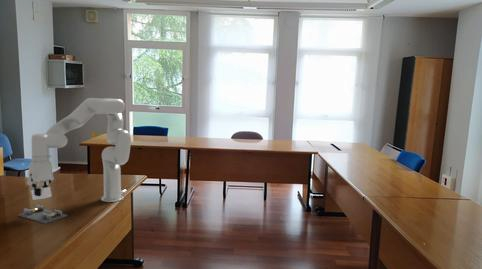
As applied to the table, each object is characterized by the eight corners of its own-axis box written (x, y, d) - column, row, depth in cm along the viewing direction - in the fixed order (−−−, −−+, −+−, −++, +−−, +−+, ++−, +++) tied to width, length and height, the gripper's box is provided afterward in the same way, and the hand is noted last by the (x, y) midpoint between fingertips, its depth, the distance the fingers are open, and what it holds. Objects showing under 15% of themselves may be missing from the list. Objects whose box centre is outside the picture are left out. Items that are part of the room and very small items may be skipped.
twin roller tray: (37, 209, 182) (37, 204, 181) (62, 216, 173) (62, 211, 173) (23, 213, 175) (23, 208, 175) (48, 220, 167) (48, 215, 167)
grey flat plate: (40, 209, 184) (40, 207, 184) (67, 216, 175) (67, 215, 175) (18, 215, 174) (18, 214, 174) (45, 223, 165) (45, 222, 164)
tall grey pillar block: (39, 198, 176) (37, 188, 177) (51, 196, 172) (50, 186, 172) (32, 200, 173) (31, 190, 173) (45, 198, 169) (43, 188, 169)
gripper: (51, 155, 180) (51, 190, 182) (19, 160, 165) (20, 197, 167) (60, 157, 177) (61, 192, 179) (29, 162, 162) (29, 200, 164)
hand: (41, 194), depth 173 cm, fingers closed on tall grey pillar block, 3 cm apart
